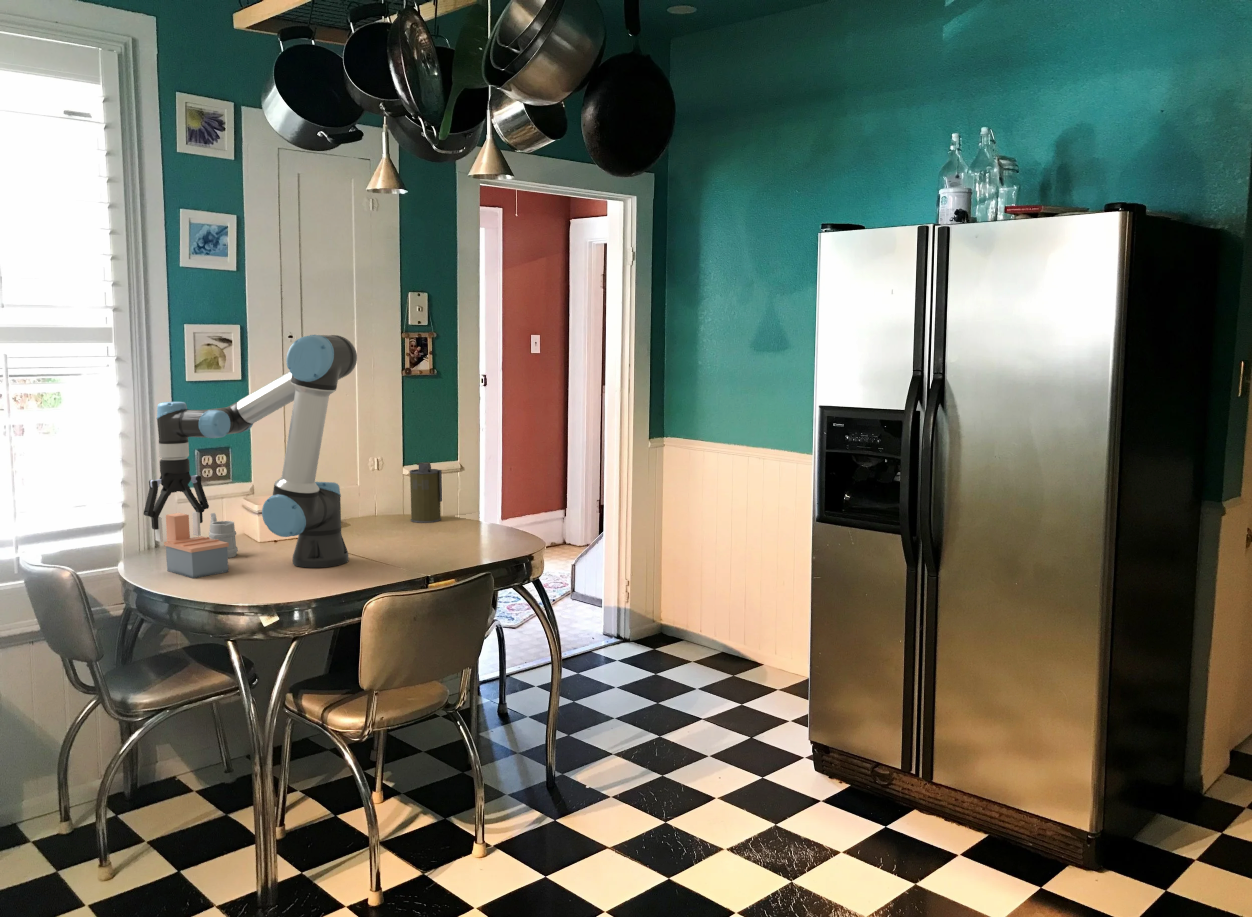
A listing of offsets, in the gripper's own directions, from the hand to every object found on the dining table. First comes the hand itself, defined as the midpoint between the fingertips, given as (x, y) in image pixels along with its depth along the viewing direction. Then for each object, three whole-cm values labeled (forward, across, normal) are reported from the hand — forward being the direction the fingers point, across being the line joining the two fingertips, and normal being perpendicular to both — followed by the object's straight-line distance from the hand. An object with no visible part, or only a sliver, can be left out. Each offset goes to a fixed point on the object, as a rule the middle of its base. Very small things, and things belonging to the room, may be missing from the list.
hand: (178, 537), depth 288 cm
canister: (+8, -91, -4) cm, 91 cm away
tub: (+8, 0, +10) cm, 13 cm away
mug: (+8, -15, -5) cm, 18 cm away
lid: (+1, 0, +7) cm, 7 cm away
